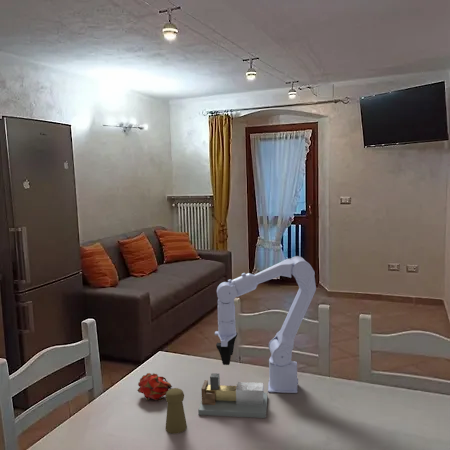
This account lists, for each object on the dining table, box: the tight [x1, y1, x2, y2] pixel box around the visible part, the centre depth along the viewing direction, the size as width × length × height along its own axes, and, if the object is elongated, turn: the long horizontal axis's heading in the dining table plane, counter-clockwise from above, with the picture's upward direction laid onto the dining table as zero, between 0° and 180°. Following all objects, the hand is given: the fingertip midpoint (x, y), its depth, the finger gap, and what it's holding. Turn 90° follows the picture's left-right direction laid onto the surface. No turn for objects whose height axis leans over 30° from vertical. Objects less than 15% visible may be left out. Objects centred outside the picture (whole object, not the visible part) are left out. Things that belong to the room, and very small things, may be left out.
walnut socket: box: [201, 379, 216, 405], centre depth 133 cm, size 4×6×5 cm
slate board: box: [197, 392, 268, 419], centre depth 133 cm, size 20×12×2 cm, turn 82°
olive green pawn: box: [164, 387, 188, 435], centre depth 121 cm, size 6×6×11 cm
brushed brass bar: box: [206, 372, 237, 401], centre depth 132 cm, size 12×3×7 cm, turn 82°
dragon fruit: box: [136, 372, 173, 402], centre depth 139 cm, size 8×8×12 cm
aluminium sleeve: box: [236, 381, 265, 407], centre depth 132 cm, size 8×5×5 cm, turn 82°
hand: (227, 359), depth 142 cm, fingers open, 7 cm apart
